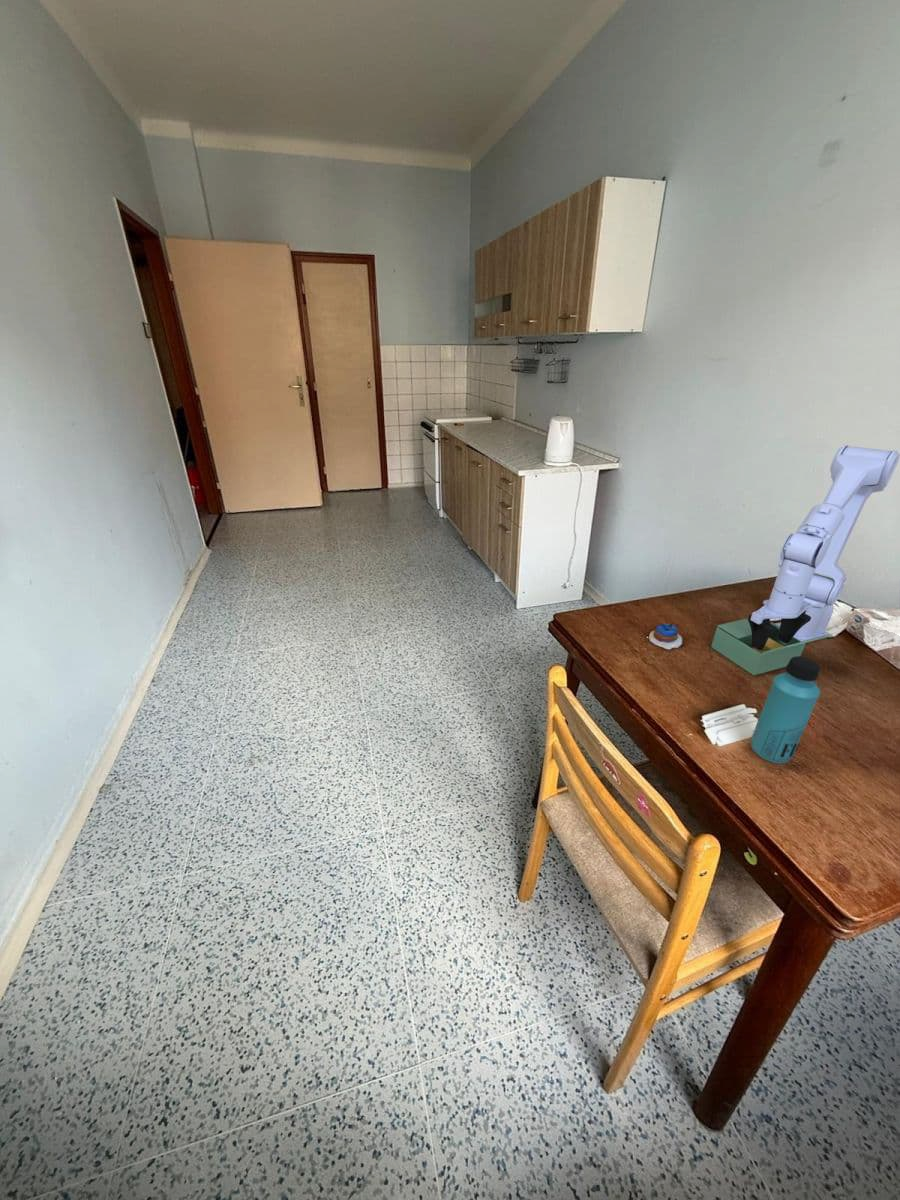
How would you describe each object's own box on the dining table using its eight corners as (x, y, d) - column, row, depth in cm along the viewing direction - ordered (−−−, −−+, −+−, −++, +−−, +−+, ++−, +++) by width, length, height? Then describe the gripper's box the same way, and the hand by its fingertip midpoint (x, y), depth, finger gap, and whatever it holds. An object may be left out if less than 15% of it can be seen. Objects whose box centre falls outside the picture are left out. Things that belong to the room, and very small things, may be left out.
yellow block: (761, 653, 108) (767, 636, 106) (777, 663, 105) (784, 646, 103) (750, 656, 107) (755, 639, 105) (765, 666, 104) (771, 649, 102)
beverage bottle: (775, 776, 78) (817, 680, 69) (737, 750, 83) (772, 657, 74) (798, 762, 81) (842, 667, 71) (760, 737, 86) (796, 646, 77)
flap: (831, 634, 97) (832, 635, 97) (806, 640, 103) (807, 642, 103) (785, 646, 94) (786, 647, 94) (762, 652, 99) (762, 653, 99)
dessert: (657, 624, 120) (673, 614, 115) (675, 645, 118) (692, 635, 113) (640, 638, 115) (657, 627, 110) (659, 660, 114) (676, 650, 109)
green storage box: (752, 636, 115) (759, 615, 112) (797, 663, 106) (806, 640, 103) (711, 646, 112) (717, 625, 109) (753, 675, 102) (762, 652, 99)
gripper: (797, 576, 103) (778, 629, 110) (746, 587, 99) (729, 641, 106) (829, 590, 97) (807, 645, 104) (776, 602, 93) (756, 658, 100)
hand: (769, 644), depth 104 cm, fingers open, 7 cm apart
